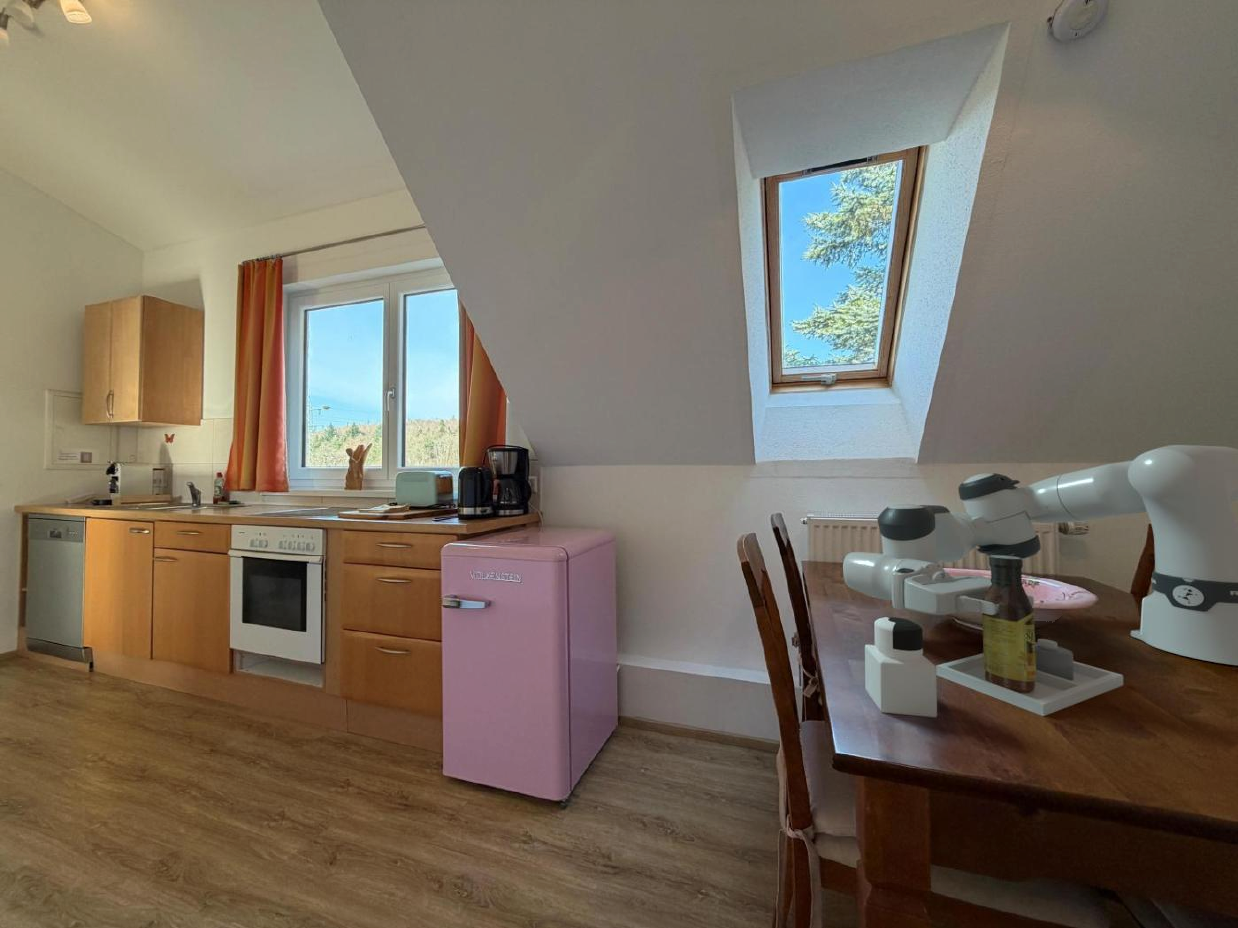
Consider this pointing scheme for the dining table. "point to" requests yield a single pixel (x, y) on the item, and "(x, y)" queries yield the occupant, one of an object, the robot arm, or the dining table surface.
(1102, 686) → the white rectangular tray
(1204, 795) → the dining table surface
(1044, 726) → the dining table surface
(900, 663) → the medicine bottle
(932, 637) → the dining table surface
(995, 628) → the sauce bottle
